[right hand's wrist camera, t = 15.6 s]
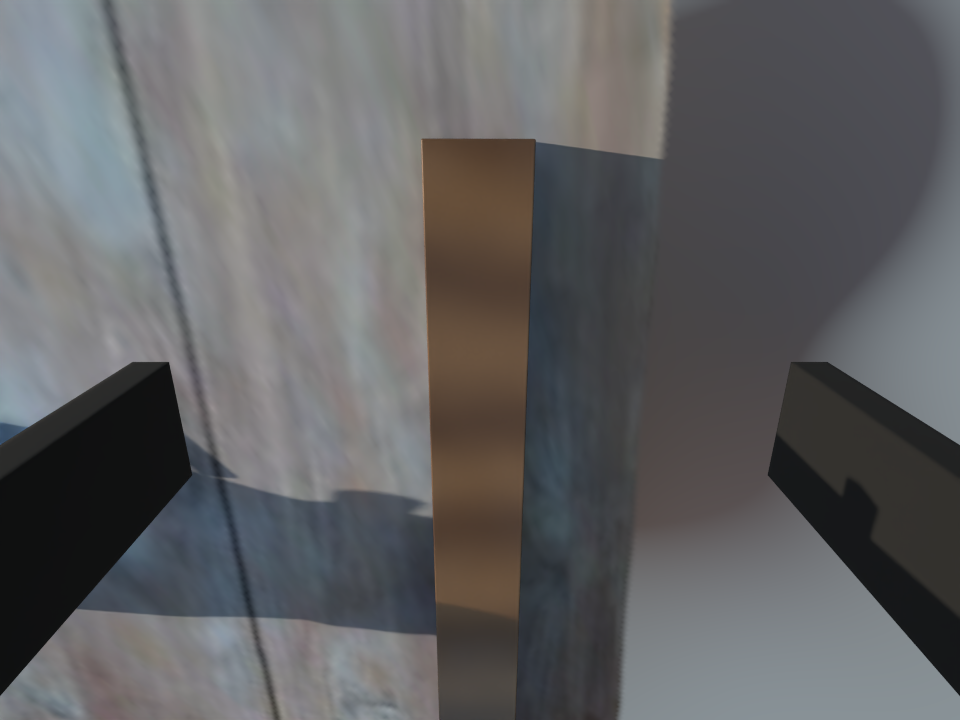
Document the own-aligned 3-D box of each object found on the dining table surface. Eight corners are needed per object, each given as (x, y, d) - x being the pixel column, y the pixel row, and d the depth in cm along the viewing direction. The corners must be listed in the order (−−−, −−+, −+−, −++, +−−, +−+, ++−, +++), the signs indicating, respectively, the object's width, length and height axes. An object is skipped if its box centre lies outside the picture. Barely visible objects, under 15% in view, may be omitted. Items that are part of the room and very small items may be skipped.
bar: (433, 139, 35) (420, 138, 28) (523, 140, 35) (535, 138, 28) (449, 817, 58) (445, 915, 51) (504, 817, 58) (508, 916, 51)
